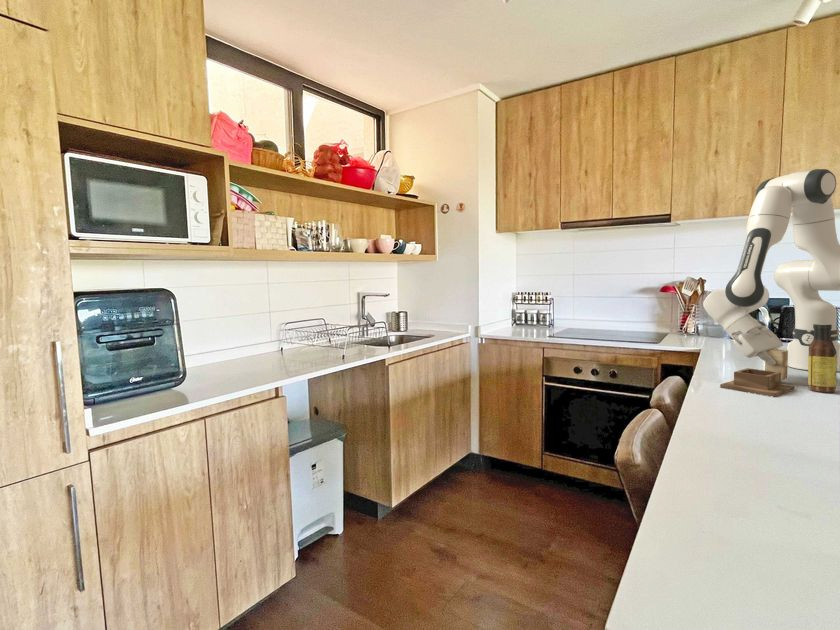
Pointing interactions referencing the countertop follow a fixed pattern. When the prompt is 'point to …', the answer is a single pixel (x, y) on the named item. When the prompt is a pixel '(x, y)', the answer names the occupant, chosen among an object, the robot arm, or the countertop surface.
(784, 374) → the maple block
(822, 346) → the sauce bottle
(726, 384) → the walnut stand
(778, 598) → the countertop surface
